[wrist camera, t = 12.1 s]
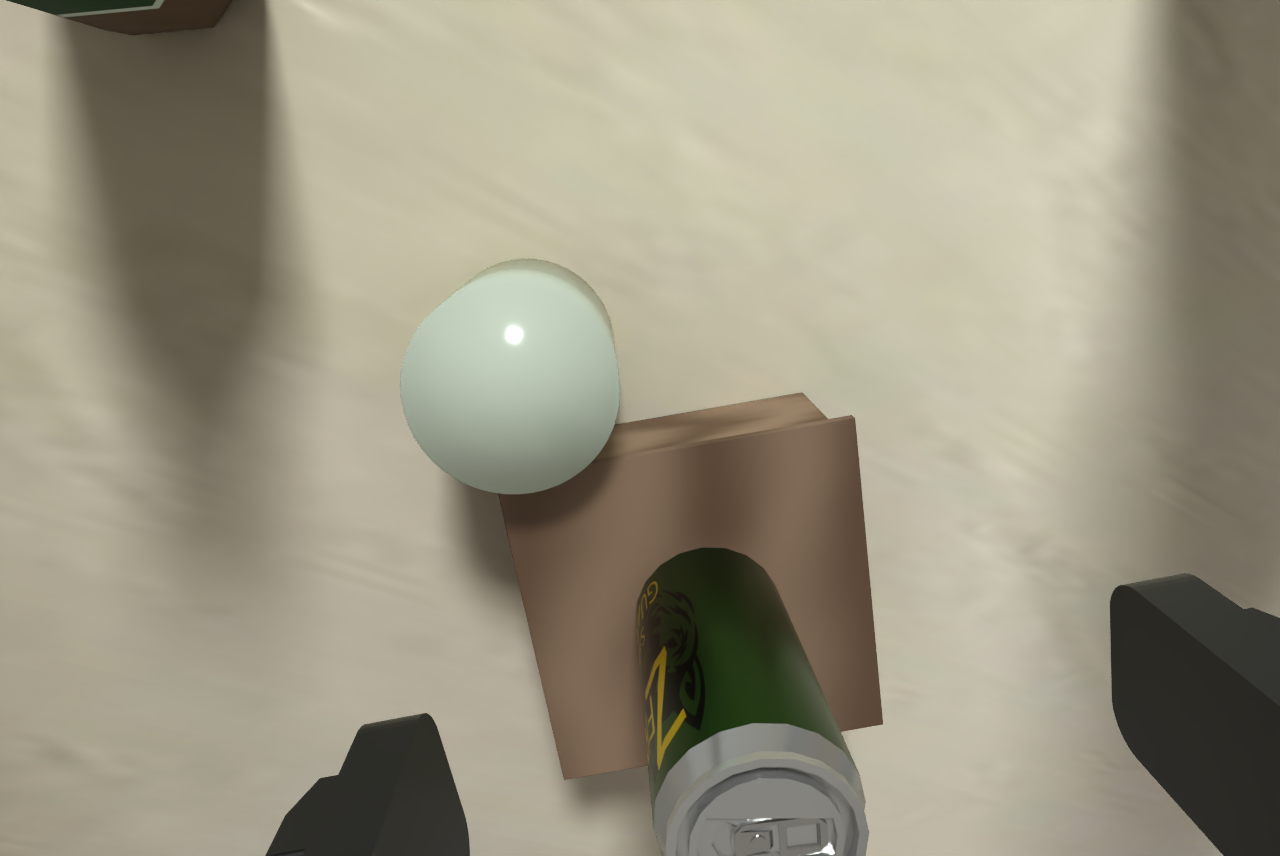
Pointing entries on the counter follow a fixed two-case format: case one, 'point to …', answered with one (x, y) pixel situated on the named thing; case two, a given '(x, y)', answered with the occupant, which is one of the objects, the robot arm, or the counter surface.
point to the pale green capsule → (513, 379)
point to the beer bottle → (135, 13)
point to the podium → (682, 520)
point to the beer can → (738, 719)
